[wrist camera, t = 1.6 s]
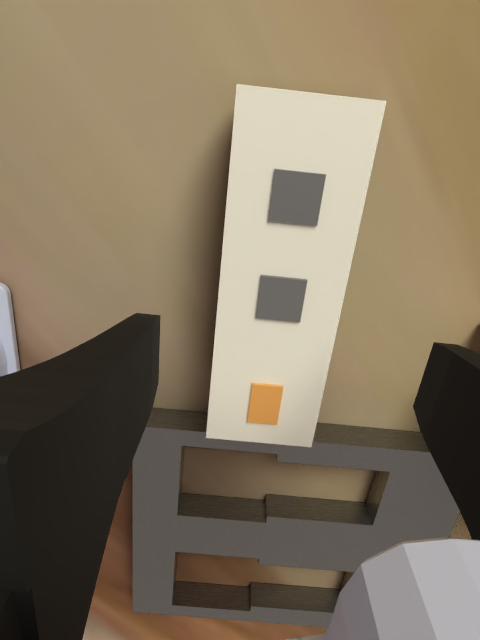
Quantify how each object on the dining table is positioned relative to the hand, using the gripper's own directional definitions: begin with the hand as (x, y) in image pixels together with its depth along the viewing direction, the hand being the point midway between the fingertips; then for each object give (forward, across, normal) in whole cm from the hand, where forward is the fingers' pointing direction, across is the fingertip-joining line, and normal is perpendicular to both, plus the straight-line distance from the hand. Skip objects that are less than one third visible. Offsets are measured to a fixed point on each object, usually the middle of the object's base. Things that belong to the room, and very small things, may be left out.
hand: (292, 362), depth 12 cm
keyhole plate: (+9, -3, +16) cm, 19 cm away
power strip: (+9, 0, 0) cm, 9 cm away
